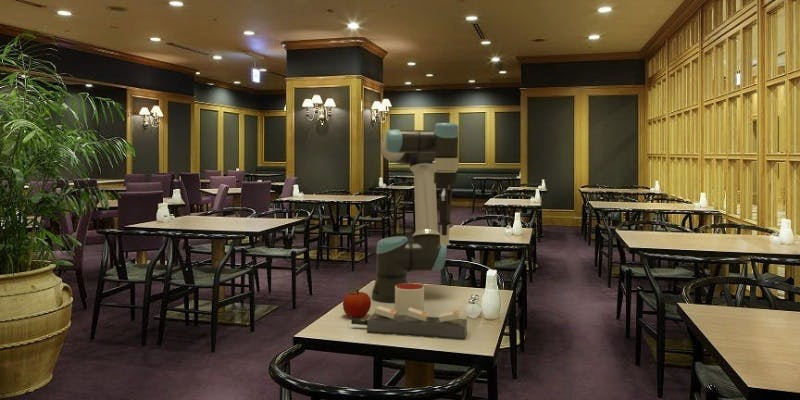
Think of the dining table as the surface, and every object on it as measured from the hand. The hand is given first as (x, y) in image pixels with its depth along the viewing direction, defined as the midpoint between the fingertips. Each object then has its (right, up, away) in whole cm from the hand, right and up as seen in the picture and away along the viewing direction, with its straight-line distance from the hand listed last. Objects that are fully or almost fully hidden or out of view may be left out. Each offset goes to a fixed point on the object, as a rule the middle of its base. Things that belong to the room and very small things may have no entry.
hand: (444, 244), depth 188 cm
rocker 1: (-19, -21, -6) cm, 28 cm away
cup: (-11, -25, +13) cm, 30 cm away
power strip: (-12, -27, -7) cm, 30 cm away
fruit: (-29, -25, +10) cm, 40 cm away
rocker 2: (-9, -21, -8) cm, 24 cm away
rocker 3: (+1, -21, -10) cm, 23 cm away
